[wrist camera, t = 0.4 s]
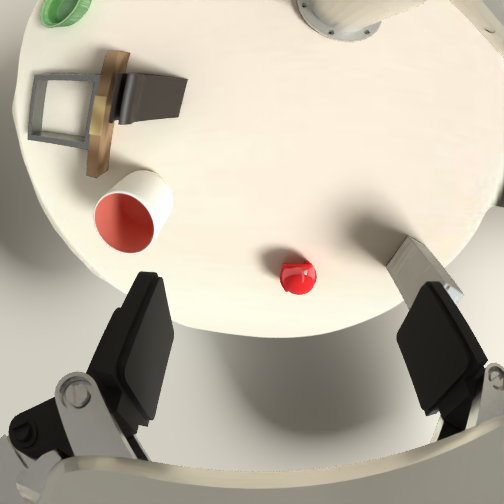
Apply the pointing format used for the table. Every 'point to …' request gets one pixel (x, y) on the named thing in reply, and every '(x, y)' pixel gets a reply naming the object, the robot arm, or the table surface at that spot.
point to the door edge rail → (104, 114)
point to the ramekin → (62, 12)
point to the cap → (298, 278)
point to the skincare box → (419, 271)
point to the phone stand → (145, 97)
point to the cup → (133, 212)
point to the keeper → (38, 106)
